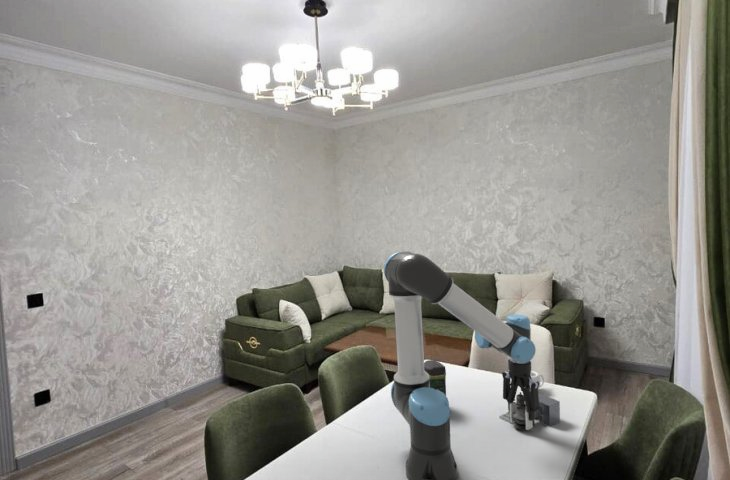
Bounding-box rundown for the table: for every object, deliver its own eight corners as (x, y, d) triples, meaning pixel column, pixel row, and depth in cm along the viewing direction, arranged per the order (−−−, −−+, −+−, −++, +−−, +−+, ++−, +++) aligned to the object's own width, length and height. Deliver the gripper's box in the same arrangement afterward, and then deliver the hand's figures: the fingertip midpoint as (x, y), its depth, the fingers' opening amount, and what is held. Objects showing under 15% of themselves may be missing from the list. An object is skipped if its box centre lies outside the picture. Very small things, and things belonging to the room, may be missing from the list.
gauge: (533, 434, 138) (533, 413, 138) (499, 417, 151) (498, 398, 150) (559, 421, 146) (559, 401, 146) (525, 406, 158) (524, 387, 158)
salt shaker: (511, 427, 141) (510, 394, 141) (513, 420, 146) (512, 387, 146) (529, 431, 138) (528, 396, 138) (531, 423, 144) (530, 390, 143)
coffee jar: (450, 412, 156) (448, 365, 155) (431, 415, 154) (429, 367, 153) (439, 401, 166) (438, 357, 165) (421, 404, 164) (420, 359, 163)
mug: (529, 397, 166) (528, 378, 166) (514, 389, 174) (514, 371, 174) (551, 391, 171) (551, 373, 170) (536, 384, 179) (536, 366, 178)
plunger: (532, 426, 142) (532, 412, 142) (507, 414, 151) (507, 401, 151) (548, 418, 147) (548, 405, 146) (523, 407, 156) (523, 394, 155)
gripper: (550, 365, 135) (552, 432, 136) (504, 350, 151) (506, 411, 152) (536, 370, 131) (538, 439, 132) (490, 354, 147) (492, 417, 148)
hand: (521, 424), depth 142 cm, fingers closed on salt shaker, 6 cm apart
